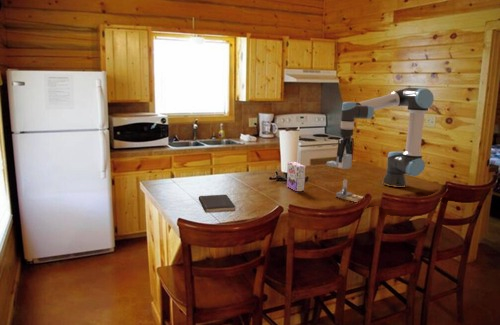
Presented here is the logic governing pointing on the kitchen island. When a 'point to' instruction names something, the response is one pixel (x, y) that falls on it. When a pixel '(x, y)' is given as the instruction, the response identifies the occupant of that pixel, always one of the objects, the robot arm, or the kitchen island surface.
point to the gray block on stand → (344, 191)
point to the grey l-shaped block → (346, 161)
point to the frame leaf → (354, 198)
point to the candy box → (296, 176)
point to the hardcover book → (216, 203)
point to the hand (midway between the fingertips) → (343, 167)
